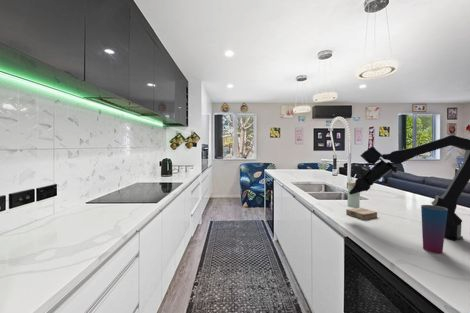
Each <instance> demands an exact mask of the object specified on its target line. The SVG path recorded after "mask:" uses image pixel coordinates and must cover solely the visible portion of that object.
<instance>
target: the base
mask: <svg viewBox="0 0 470 313" xmlns="http://www.w3.org/2000/svg"><path fill="white" fill-rule="evenodd" d="M345 211H346V212H345V213H346V215H347V216H352V217H355V218H358V219H361V220H368V219H375V218H378V212H377V211H373V210H371V209H367V208H365V207H359V208H352V207H351V208H347V209H346V210H345Z"/></svg>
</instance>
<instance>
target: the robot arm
mask: <svg viewBox="0 0 470 313" xmlns="http://www.w3.org/2000/svg"><path fill="white" fill-rule="evenodd" d="M449 146H451V147H454V148H458V149H459V150H464V156H463V161H462V163H461V165H460V167H459V168H458V170H457V172H456V173H455V175H454V177H453V178H452V180H451V182H450V183H449V184H448V187H447V188H446V190H445V192H444V193H443V194H442V195H441V196H440V195H437V194H436V195H435V196H434V199H433V201H432V202H431V205H434V206H440V207H444V208H447V209H448V212H447V220H446V228H445V236H444V239H449V240H452V241H458V240H462V239H464V236H462V223H463V220H462V218H460V216H458V215H457V214H456V210H457V206H458V199H459V198H460V196H461V195H462V193H463V191H464V190H465V188H466V186H467V185H468V183H469V181H470V139H468V138H464V137H460V136H457V135H455V134H450V135H446V136H444V137H441V138H439V139H436V140H432V141H429V142H425V143H423V144H420V145H417V146H414V147H408V148H404V149H398V150H393V151H391V152H390V153H383V154H382V153H380V152H379V150H377V149H376V147H374V146H371V147H369V148H368V149H367V150H365V151H364V152H362V153H361V155H360V157H361V158H362V159H363V160H364V161H365V162H367V164H369V165H371V164H372V165H373V166H372V167H370V168H368V169H367V168H365V167H363V166H362V165H360V164H354V166H353V167H352V169H351V171H352V172H354V173H357V174H359V175H360V176H359V177H358V178H357V179H355V180H354V181H355V182H356V185H355V186H354V187H353V189H352V190H351V191H350V192H349V194H350V195H351V194H355V193H358V192H360V193H362V192H368V190H370V189H371V187H372V186H373V185H374V184H375V183H376V182H378V181H380V180H381V179H382V178H383V177H384V176H386V175H387V174H388V173H389V172H391V171H392V172H394V174H395V173H397V172H398V171H397V169H398V166H396V165H400V164H403V163H404V162H407V161H408V160H411V159H412V158H415V157H417V156H420V155H423V154H427V153H430V152H433V151H436V150H440V149H442V148H443V149H444V148H446V147H447V148H448V147H449ZM386 161H387V162H386ZM393 164H394V165H393Z"/></svg>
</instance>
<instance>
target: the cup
mask: <svg viewBox="0 0 470 313" xmlns="http://www.w3.org/2000/svg"><path fill="white" fill-rule="evenodd" d="M420 208H421V209H420V210H421V211H420V212H421V233H422V249H423V250H424V251H427V252H429V253H432V254H443V250H444V243H445V237H444V236H445V228H446V220H447V212H448V209H447V208H444V207H440V206H434V205H432V204H422V205H420Z"/></svg>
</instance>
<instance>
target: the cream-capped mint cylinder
mask: <svg viewBox="0 0 470 313" xmlns="http://www.w3.org/2000/svg"><path fill="white" fill-rule="evenodd" d="M355 185H356V182H355V180H353V181H350V180H349V181H347V207H349V208H351V209H352V208H359V207H360V206H361V205H360V204H361V203H360V202H361V198H360V197H361V192H358V193H355V194H351V195H350V194H349V192H350V191H351V190H352V189H353V187H354V186H355ZM360 208H361V207H360Z"/></svg>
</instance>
